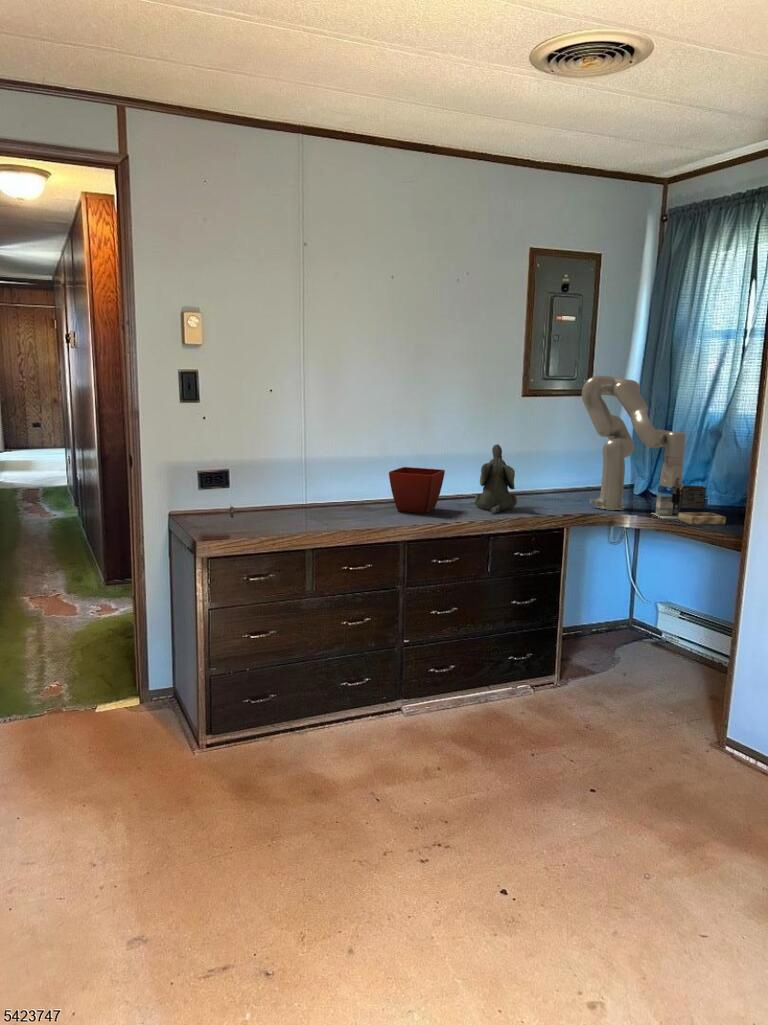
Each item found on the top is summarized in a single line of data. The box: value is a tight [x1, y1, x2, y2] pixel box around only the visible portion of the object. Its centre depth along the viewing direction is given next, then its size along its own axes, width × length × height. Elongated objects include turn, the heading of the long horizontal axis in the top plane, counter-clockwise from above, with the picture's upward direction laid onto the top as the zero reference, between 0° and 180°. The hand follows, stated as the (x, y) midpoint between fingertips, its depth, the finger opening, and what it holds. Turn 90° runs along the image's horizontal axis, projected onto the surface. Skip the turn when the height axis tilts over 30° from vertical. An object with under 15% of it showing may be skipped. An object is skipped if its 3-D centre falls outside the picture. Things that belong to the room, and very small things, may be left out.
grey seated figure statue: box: [474, 443, 518, 514], centre depth 329 cm, size 19×21×27 cm
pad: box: [650, 512, 679, 520], centre depth 325 cm, size 10×10×1 cm
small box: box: [679, 484, 707, 511], centre depth 346 cm, size 11×6×10 cm, turn 84°
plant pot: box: [388, 466, 446, 514], centre depth 320 cm, size 19×19×17 cm
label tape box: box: [655, 485, 680, 516], centre depth 324 cm, size 9×4×12 cm, turn 95°
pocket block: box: [677, 511, 727, 525], centre depth 315 cm, size 15×10×3 cm, turn 99°
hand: (669, 500), depth 324 cm, fingers open, 9 cm apart
